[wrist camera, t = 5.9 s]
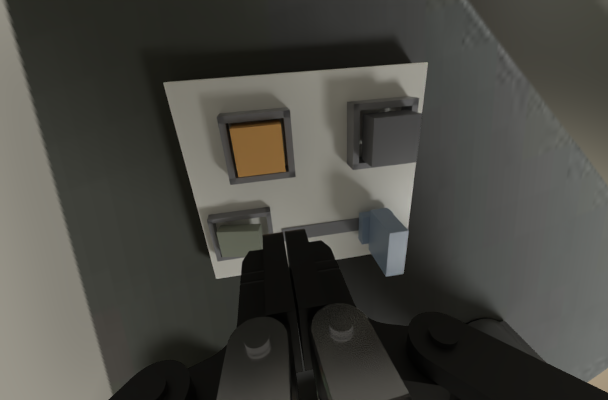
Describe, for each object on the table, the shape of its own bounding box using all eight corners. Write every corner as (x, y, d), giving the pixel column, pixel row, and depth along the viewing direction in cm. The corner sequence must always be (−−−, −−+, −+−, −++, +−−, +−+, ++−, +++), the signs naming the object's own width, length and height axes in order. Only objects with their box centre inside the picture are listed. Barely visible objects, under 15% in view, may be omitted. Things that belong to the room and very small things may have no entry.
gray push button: (407, 109, 21) (422, 113, 19) (402, 154, 23) (416, 162, 21) (362, 113, 21) (374, 118, 19) (361, 159, 22) (371, 167, 21)
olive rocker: (261, 223, 24) (258, 231, 23) (264, 248, 25) (262, 256, 24) (220, 225, 24) (216, 232, 23) (226, 249, 25) (222, 257, 24)
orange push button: (278, 118, 21) (280, 124, 19) (283, 162, 23) (285, 171, 21) (231, 123, 21) (229, 129, 19) (239, 167, 23) (238, 177, 21)
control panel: (411, 62, 24) (441, 61, 20) (395, 235, 32) (413, 258, 28) (172, 81, 21) (155, 83, 18) (219, 263, 29) (214, 291, 26)
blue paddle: (389, 202, 26) (417, 229, 22) (386, 240, 28) (411, 272, 24) (359, 206, 26) (381, 234, 21) (358, 244, 28) (378, 278, 23)
